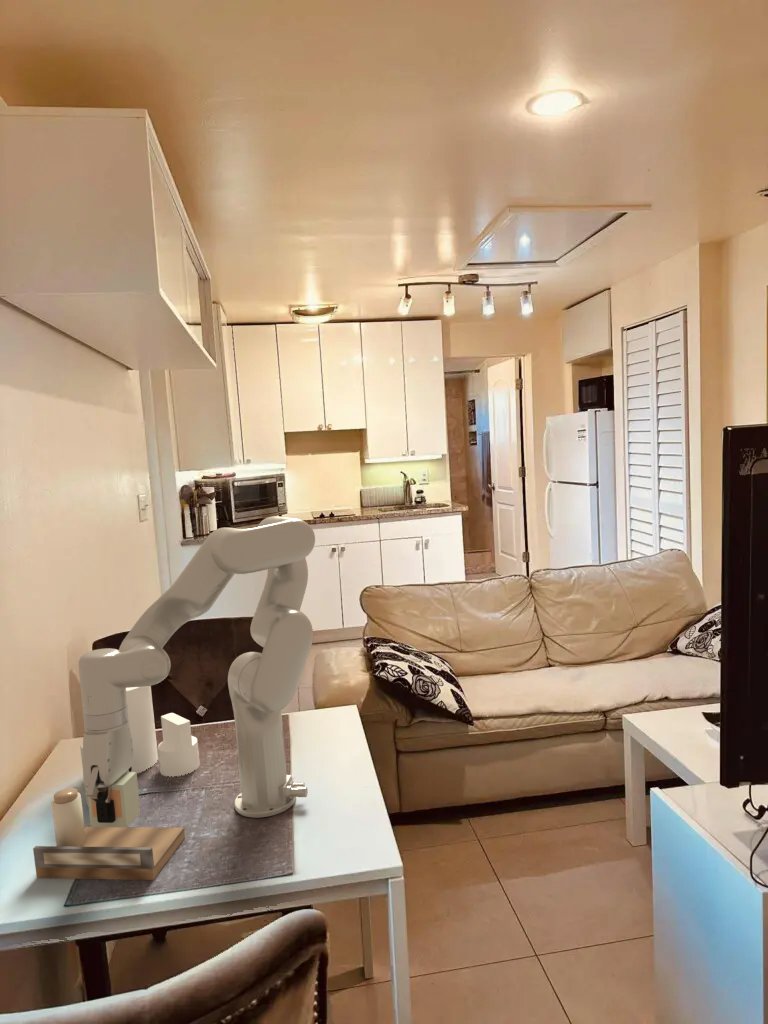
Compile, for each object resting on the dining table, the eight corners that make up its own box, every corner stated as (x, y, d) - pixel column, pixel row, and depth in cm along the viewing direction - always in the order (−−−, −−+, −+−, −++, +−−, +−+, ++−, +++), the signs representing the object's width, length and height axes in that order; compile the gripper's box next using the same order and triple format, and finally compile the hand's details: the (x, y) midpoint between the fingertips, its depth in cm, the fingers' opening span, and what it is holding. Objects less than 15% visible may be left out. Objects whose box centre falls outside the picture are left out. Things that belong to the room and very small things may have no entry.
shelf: (184, 837, 131) (182, 810, 131) (153, 880, 118) (149, 850, 118) (78, 836, 134) (75, 809, 134) (35, 878, 121) (32, 849, 121)
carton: (105, 812, 130) (101, 771, 129) (140, 813, 129) (136, 772, 128) (90, 827, 125) (86, 785, 124) (126, 828, 124) (122, 785, 123)
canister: (85, 774, 162) (76, 692, 160) (124, 750, 174) (116, 673, 173) (133, 779, 157) (124, 695, 156) (169, 754, 170) (161, 675, 168)
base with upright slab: (153, 769, 162) (148, 720, 161) (188, 755, 168) (183, 708, 167) (171, 780, 156) (166, 729, 155) (206, 766, 162) (202, 716, 161)
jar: (91, 837, 130) (85, 786, 129) (76, 852, 125) (70, 800, 124) (66, 836, 131) (61, 786, 130) (50, 852, 126) (44, 800, 125)
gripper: (111, 701, 134) (119, 790, 135) (59, 737, 117) (69, 838, 119) (147, 700, 133) (155, 791, 134) (100, 737, 116) (109, 839, 118)
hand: (115, 812), depth 126 cm, fingers closed on carton, 5 cm apart
